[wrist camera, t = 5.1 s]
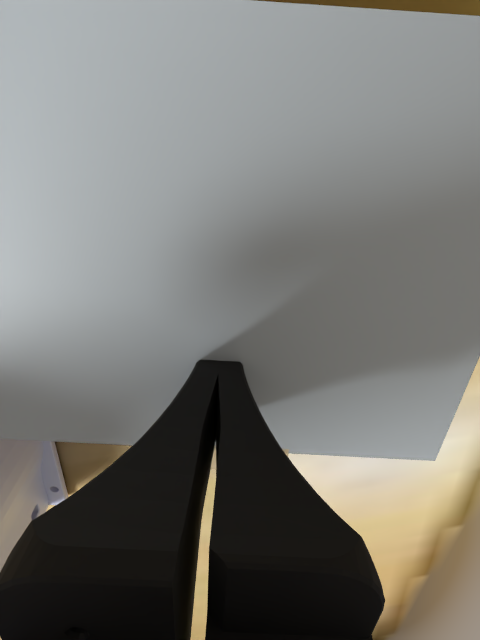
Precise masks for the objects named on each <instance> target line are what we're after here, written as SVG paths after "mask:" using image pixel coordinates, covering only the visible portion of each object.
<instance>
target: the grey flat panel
mask: <svg viewBox="0 0 480 640" xmlns="http://www.w3.org/2000/svg"><path fill="white" fill-rule="evenodd" d="M479 356H480V16H473V15H459V14H444V13H430V12H415V11H400V10H386V9H371V8H356V7H342V6H327V5H312V4H298V3H283V2H269V1H254V0H0V439H16V440H36V441H56V442H75V443H95V444H115V445H134V444H135V443H136V442H137V441H138V440H139V439H140V438H141V437H142V436H143V435H144V434H145V433H146V432H147V431H148V430H149V428H150V427H151V426H152V425H153V424H154V423H155V422H156V421H157V419H158V418H159V417H160V416H161V415H162V413H163V412H164V411H165V410H166V408H167V407H168V406H169V405H170V403H171V402H172V401H173V399H174V398H175V397H176V395H177V394H178V392H179V391H180V389H181V388H182V387H183V385H184V384H185V382H186V380H187V379H188V377H189V376H190V374H191V372H192V370H193V368H194V367H195V364H196V362H198V361H199V360H218V361H238V362H241V363H242V364H243V368H244V372H245V376H246V379H247V382H248V385H249V388H250V390H251V393H252V395H253V397H254V400H255V402H256V404H257V406H258V408H259V410H260V412H261V414H262V416H263V418H264V420H265V422H266V424H267V426H268V427H269V429H270V431H271V432H272V434H273V436H274V437H275V439H276V441H277V442H278V444H279V445H280V447H281V448H282V450H283V451H284V453H285V454H286V455H287V457H288V453H292V454H311V455H331V456H351V457H370V458H390V459H410V460H429V461H435V460H436V457H437V455H438V453H439V450H440V448H441V446H442V443H443V441H444V438H445V436H446V434H447V431H448V429H449V427H450V424H451V422H452V420H453V417H454V415H455V413H456V410H457V408H458V406H459V403H460V401H461V399H462V396H463V394H464V392H465V389H466V387H467V385H468V382H469V380H470V378H471V375H472V373H473V371H474V368H475V366H476V364H477V361H478V359H479ZM211 469H213V470H216V442H215V447H214V452H213V458H212V463H211Z"/></svg>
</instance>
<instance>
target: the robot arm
mask: <svg viewBox="0 0 480 640" xmlns="http://www.w3.org/2000/svg"><path fill="white" fill-rule="evenodd" d="M215 442H216V487H215V498H214V508H213V517H212V527H211V537H210V546H209V576H208V610H207V624H206V637H205V640H373V639H372V635H371V634H372V632H373V630H374V628H375V626H376V624H377V622H378V619H379V617H380V615H381V613H382V611H383V608H384V603H385V598H384V595H383V589H382V585H381V582H380V579H379V576H378V573H377V571H376V568H375V566H374V563H373V561H372V558H371V556H370V554H369V552H368V549H367V547H366V545H365V543H364V541H363V539H362V537H361V536H360V535H359V534H358V533H357V532H356V531H355V530H353V529H352V528H351V527H350V526H349V525H348V524H347V523H346V522H345V521H344V520H343V519H342V518H340V517H339V516H338V515H337V514H336V513H335V512H334V511H333V510H332V509H331V508H330V507H329V505H328V504H327V503H326V502H325V501H324V500H323V499H322V498H321V497H320V496H319V495H318V494H317V493H316V492H315V490H314V489H313V488H312V487H311V486H310V484H309V483H308V482H307V481H306V480H305V478H304V477H303V476H302V475H301V474H300V473H299V471H298V470H297V469H296V468H295V466H294V465H293V464H292V462H291V461H290V460H289V458H288V457H287V455H286V454H285V453H284V451H283V450H282V448H281V447H280V445H279V444H278V442H277V441H276V439H275V437H274V436H273V434H272V432H271V431H270V429H269V427H268V426H267V424H266V422H265V420H264V418H263V416H262V414H261V412H260V410H259V408H258V406H257V404H256V402H255V400H254V397H253V395H252V393H251V390H250V388H249V385H248V382H247V379H246V376H245V372H244V368H243V364H242V363H241V362H238V361H218V360H199V361H198V362H196V364H195V367H194V368H193V370H192V372H191V374H190V376H189V377H188V379H187V380H186V382H185V384H184V385H183V387H182V388H181V389H180V391H179V392H178V394H177V395H176V397H175V398H174V399H173V401H172V402H171V403H170V405H169V406H168V407H167V408H166V410H165V411H164V412H163V413H162V415H161V416H160V417H159V418H158V419H157V421H156V422H155V423H154V424H153V425H152V426H151V427H150V428H149V430H148V431H147V432H146V433H145V434H144V435H143V436H142V437H141V438H140V439H139V440H138V441H137V442H136V443H135V444H134V445H133V446H132V447H131V448H130V449H128V450H127V451H126V452H125V453H124V454H123V455H122V456H121V457H120V458H119V459H118V460H116V461H115V462H114V463H113V464H112V465H111V466H109V467H108V468H107V469H106V470H104V471H103V472H102V473H101V474H99V475H98V476H97V477H95V478H94V479H93V480H91V481H90V482H89V483H87V484H86V485H85V486H84V487H82V488H81V489H80V490H78V491H77V492H75V493H74V494H73V495H71V496H70V497H68V493H67V489H66V485H65V481H64V477H63V473H62V469H61V465H60V461H59V457H58V453H57V449H56V445H55V441H36V440H16V439H0V637H1V639H2V640H190V637H191V626H192V615H193V603H194V592H195V581H196V571H197V560H198V549H199V539H200V528H201V519H202V513H203V506H204V501H205V495H206V490H207V485H208V479H209V474H210V469H211V463H212V458H213V452H214V447H215ZM48 505H56V506H54V507H53V508H51V509H50V510H48V511H46V510H47V507H48Z"/></svg>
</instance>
